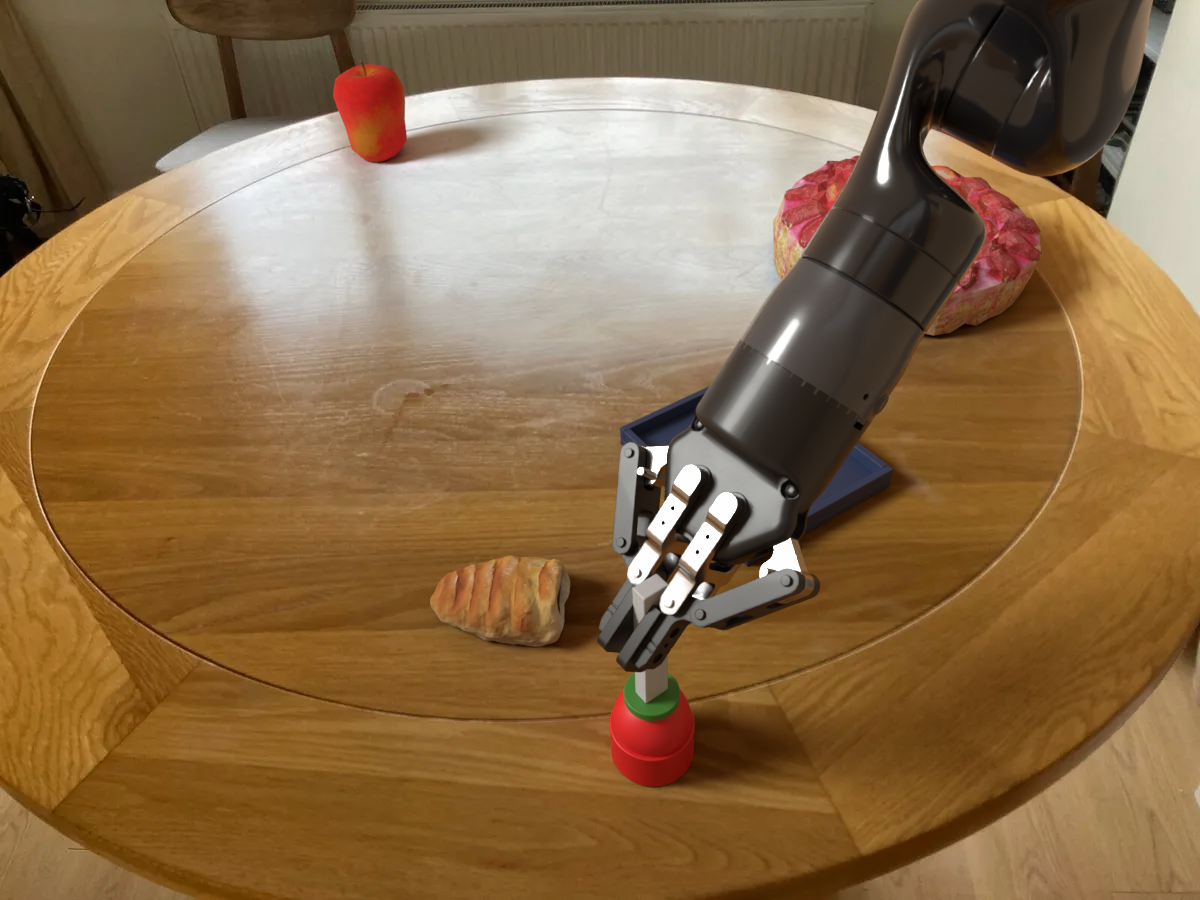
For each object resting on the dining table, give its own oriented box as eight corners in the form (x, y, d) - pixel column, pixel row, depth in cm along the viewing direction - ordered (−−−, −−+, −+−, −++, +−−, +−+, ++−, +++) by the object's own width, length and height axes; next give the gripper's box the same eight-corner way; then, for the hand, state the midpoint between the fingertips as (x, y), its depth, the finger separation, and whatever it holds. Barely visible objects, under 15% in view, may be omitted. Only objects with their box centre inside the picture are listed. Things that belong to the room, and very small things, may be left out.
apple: (418, 164, 119) (400, 68, 111) (349, 173, 117) (326, 77, 109) (411, 135, 125) (395, 42, 117) (346, 144, 124) (325, 51, 116)
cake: (727, 223, 102) (736, 154, 97) (931, 189, 108) (951, 122, 102) (838, 367, 86) (856, 294, 80) (1071, 318, 92) (1104, 247, 86)
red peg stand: (710, 755, 58) (721, 592, 47) (645, 803, 56) (642, 643, 45) (658, 699, 61) (658, 534, 50) (594, 742, 59) (580, 579, 48)
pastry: (426, 648, 64) (416, 612, 62) (444, 572, 69) (436, 536, 67) (564, 652, 64) (560, 616, 61) (573, 574, 69) (569, 538, 66)
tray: (890, 485, 74) (893, 468, 73) (746, 566, 69) (748, 550, 67) (754, 380, 84) (755, 364, 83) (620, 443, 79) (619, 427, 78)
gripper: (675, 292, 48) (499, 573, 51) (891, 426, 40) (667, 751, 43) (745, 337, 54) (584, 587, 57) (946, 462, 46) (745, 746, 49)
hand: (620, 657), depth 50 cm, fingers closed on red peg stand, 1 cm apart
